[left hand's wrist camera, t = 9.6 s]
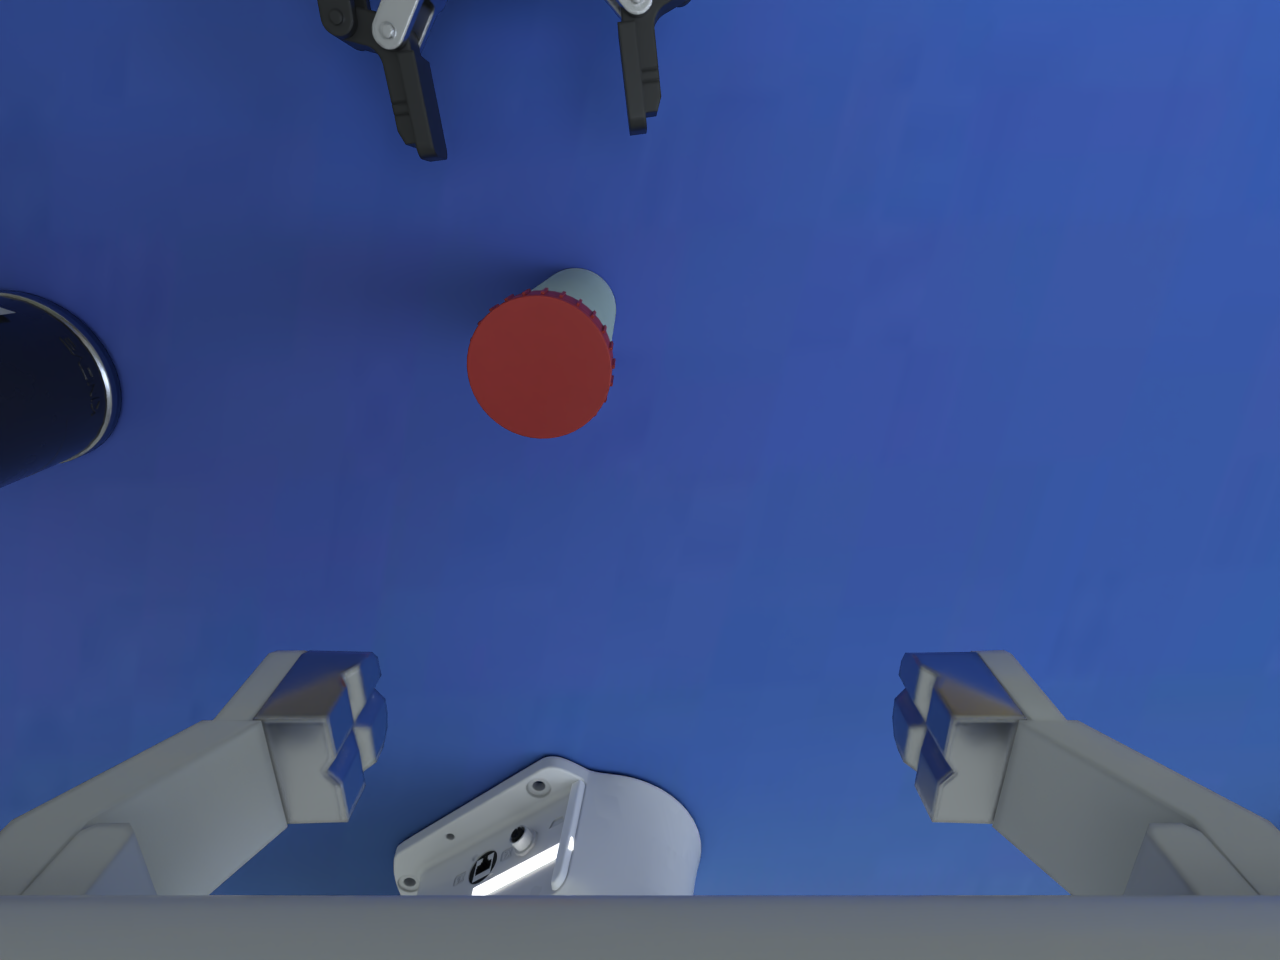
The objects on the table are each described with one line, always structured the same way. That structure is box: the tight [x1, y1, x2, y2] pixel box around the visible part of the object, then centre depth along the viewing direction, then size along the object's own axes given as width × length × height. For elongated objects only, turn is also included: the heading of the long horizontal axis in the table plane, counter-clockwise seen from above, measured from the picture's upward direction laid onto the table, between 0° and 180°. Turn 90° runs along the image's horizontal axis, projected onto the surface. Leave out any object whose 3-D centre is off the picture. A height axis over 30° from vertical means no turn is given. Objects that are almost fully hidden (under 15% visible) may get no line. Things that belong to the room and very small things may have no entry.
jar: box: [531, 268, 616, 342], centre depth 30 cm, size 4×4×16 cm
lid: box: [467, 288, 615, 438], centre depth 23 cm, size 5×5×2 cm
